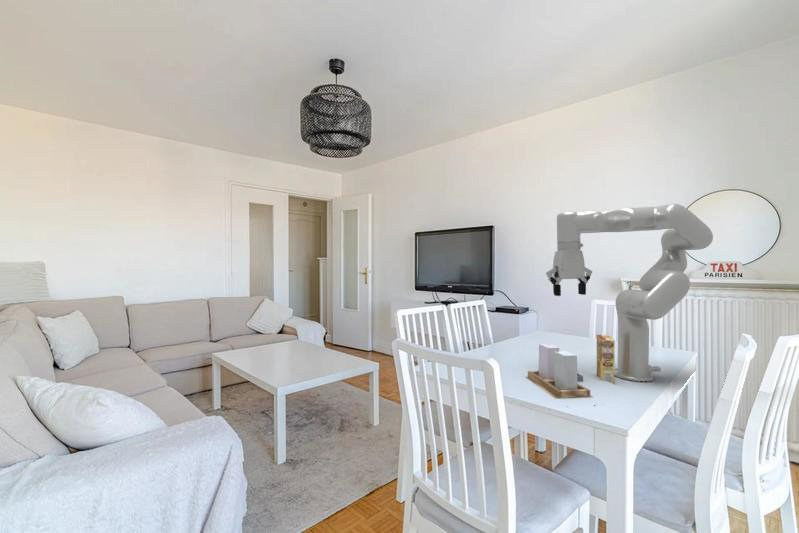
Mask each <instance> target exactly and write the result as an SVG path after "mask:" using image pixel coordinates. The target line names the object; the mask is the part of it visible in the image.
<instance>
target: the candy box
mask: <svg viewBox="0 0 799 533" xmlns="http://www.w3.org/2000/svg"><path fill="white" fill-rule="evenodd" d="M614 369H615V339H614V338H612V337H611V336H610V335H609V334H608V335H607V334H596V377H598V378H599V379H600V381H602V382H608V383H611V384H613V385H615V375H614Z"/></svg>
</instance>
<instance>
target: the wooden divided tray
mask: <svg viewBox="0 0 799 533" xmlns="http://www.w3.org/2000/svg"><path fill="white" fill-rule="evenodd" d="M525 378H526V379H527V380H529V381H530V382H532V383H533V385H536V386H537V387H539V388H540V389H541V390H543V391H544V392H545V393H547V394H548V395H550V396H551V397H552V398H554V399H555V400H556V399H557V400H558V399H577V398H581V399H582V398H594V396H593V395H591V390H590V389H589V388H587V387H585V386H583V385H582V384H580V383H579V382H577V386H578V390H559V389H557V388H556V387H555V379H542V378H540V377H539V370H528V371H527V376H525Z"/></svg>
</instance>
